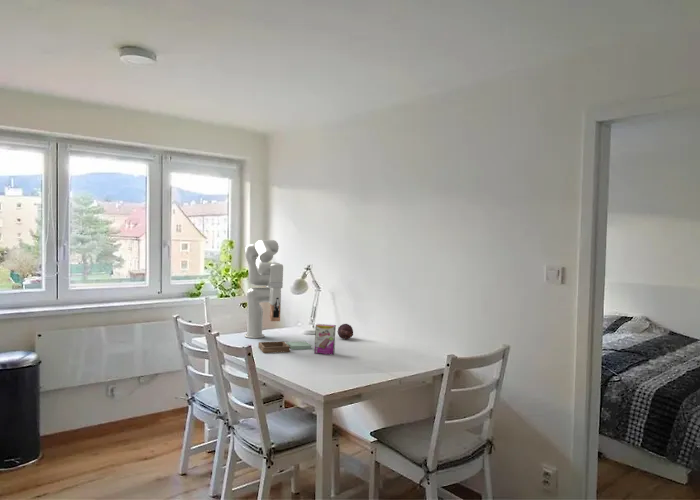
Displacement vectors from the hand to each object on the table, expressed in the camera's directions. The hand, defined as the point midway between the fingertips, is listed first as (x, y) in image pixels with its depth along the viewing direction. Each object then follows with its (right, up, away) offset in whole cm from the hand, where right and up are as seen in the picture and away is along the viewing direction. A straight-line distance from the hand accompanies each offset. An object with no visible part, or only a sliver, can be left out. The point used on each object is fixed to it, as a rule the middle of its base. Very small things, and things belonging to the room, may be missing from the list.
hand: (274, 316), depth 302 cm
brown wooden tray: (-1, -19, 0) cm, 19 cm away
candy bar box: (+29, -21, -5) cm, 36 cm away
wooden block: (0, -3, 0) cm, 3 cm away
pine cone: (+40, -20, +40) cm, 60 cm away
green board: (+13, -20, +10) cm, 25 cm away
